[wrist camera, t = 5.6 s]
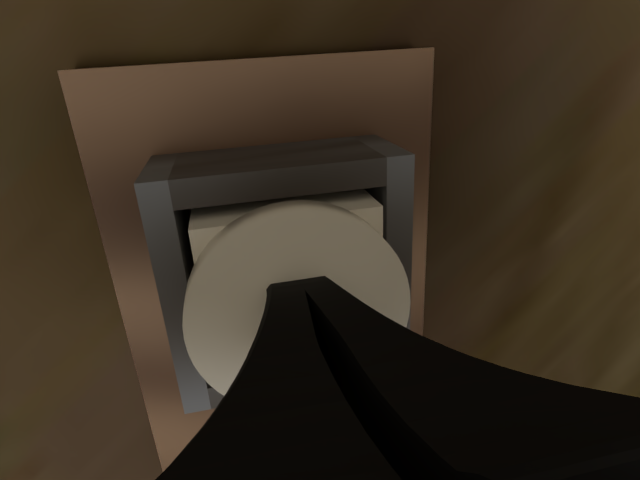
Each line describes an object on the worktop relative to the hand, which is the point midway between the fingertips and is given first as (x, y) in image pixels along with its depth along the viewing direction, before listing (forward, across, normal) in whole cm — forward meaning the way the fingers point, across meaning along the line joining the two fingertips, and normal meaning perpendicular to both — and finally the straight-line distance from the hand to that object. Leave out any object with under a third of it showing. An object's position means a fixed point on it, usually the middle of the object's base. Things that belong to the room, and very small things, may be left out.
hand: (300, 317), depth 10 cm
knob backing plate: (+6, 0, +10) cm, 12 cm away
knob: (+4, 0, 0) cm, 4 cm away
